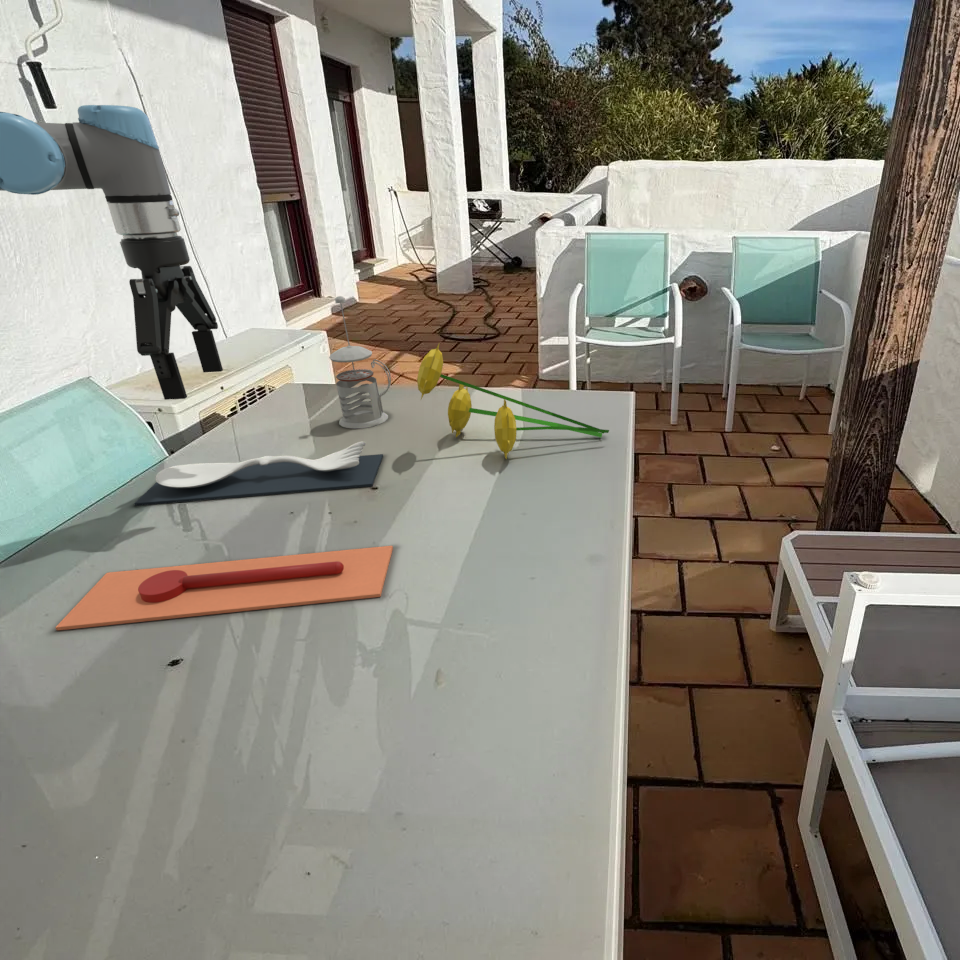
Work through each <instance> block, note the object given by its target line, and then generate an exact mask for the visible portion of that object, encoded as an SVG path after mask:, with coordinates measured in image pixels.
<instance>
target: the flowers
mask: <svg viewBox="0 0 960 960" xmlns="http://www.w3.org/2000/svg"><path fill="white" fill-rule="evenodd" d="M443 357H444V356H443V352H442V351H440V343H438V344H437V346H436V348H431V349H430V351H428V352H427V353H426V354H425V355H424V357H423V359H422V361H421V363H420V365H419V368H418V373H417V377H416V381H417V382H416V383H417V384H416V385H417V390H418V391H419V392H420V393H421V396H420V400H422V399H423V398H424V395H427V394H430V393H431V392H432V391H433V390H434V389H435V388H436V387H437V385H438V382H439V380H440V378H441V379H444V380H447V381H450V382H453V383H456V384H458V389H456V390H455V391H454V392H453V394H452V395H451V398H450V400H449V401H448V406H447V418H448V424H449V426H450V429H451V434H452V435H453V434H454V432H455V438H457V437H459V436H460V435H461V433H462V430H463V429H465V428H466V426H467V424H468V423H469V421H470V418H471V414H477V415H484V416H490V417H494V423H493V424H494V425H493V426H494V427H493V428H494V429H493V430H494V439H495V443H496V445H497V446H498V448H499V451H500V452H503V455H504V458H505V460H506V461H507V458H508V455H509V453H510V452H511V451H512V450H513V448H514V446H515V443H516V441H517V432H518V431H540V430H541V431H542V430H552V431H553V430H554V431H555V430H557V431H559V430H560V431H571V432H575V433H579V434H584V435H588V436H593V437H597V438H601V439H602V438H603V434H608V433H609V432H610V429H602V428H599V427H595V426H593V425H590V424H587V423H584V422H581V421H578V420H575V419H573V418H569V417H566V416H563V415H561V414H557V413H555V412H553V411H549V410H546V409H544V408H540V407H537V406H534V405H532V404H529V403H527V402H523V401H521V400H517V399H515V398H511V397H509V396H506V395H503V394H500V393H498V392H494V391H492V390H489V389H487V388H486V389H485V388H483V387H480V386H477V385H475V384H472V383H468V382H466V381H462V380H460V379H457V378H454V377H451V376H448V375H445V374H442V372H443V367H444V358H443ZM465 387H466V388H465ZM469 389H474V390H476V391H479V392H482V393H484V394H488V395H490V396H493V397H497V398H499V399H503V403H502V405H501V407H499V408H498V410H497V411H492V410H486V409H479V408H474V407H473V405H472V399H471V394H470V393H469ZM507 402H511V403H514V404H517V405H520V406H523V407H525V408H528V409H531V410H534V411H537V412H539V413H540V412H541V413H542V414H546V415H548V416H551V417H554V418H558V419H560V420H563V421H566V422H569V423H572V424H575V425H577V426H572V425H567V424H563V423H558V422H553V421H548V420H543V419H537V418H533V417H527V416H523V415H517V414H514V413H513V410H512V409H511V408H510V407H509V406H507V405H508V403H507ZM517 421H521V422H526V423H530V424H536V425H542V426H524V427H523V426H522V427H517ZM579 426H580V427H579Z"/></svg>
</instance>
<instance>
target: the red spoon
mask: <svg viewBox="0 0 960 960" xmlns="http://www.w3.org/2000/svg"><path fill="white" fill-rule="evenodd" d="M343 569H344V566H343V564H342V563H341V562H339V561H336V562H325V563H315V564H305V565H294V566H284V567H274V568H263V569H253V570H243V571H232V572H222V573H212V574H201V575H191V576H188V575H187V573H186V572H184V571H181V570H170V571H165V572H161V573H158V574H156V575H153V576H151V577H149V578H148V579H146V580H145V581H143V582H142V583H141V584H140V586H139V587H138V591H139V594H140V596H141V599H142V600H143V601H145V602H149V603H157V602H163V601H166V600H170V599H172V598H175V597H177V596H179V595H180V594H182V593H183V592H185V591H186V590H187V589H191V588H201V587H211V586H221V585H231V584H242V583H252V582H262V581H272V580H282V579H292V578H302V577H312V576H322V575H332V574H339V573H341V572H342V571H343Z"/></svg>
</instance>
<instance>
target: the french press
mask: <svg viewBox="0 0 960 960" xmlns="http://www.w3.org/2000/svg"><path fill="white" fill-rule="evenodd" d="M334 302H335V304H340V309H341V314H342V319H343V324H344V329H345V330H344V331H345V334H346V339H347V340H346V341H347V343H348V344H347V345H346V346H343V347H341V348H339V349H337V350H335V351H334V352H332V353H331V354H330V355H329V357H328V359H329V360H330V361H332V362H334V363H351V364H352V369H349V370H345V371H341V372H338V373H337V374H336V376H335V379H337V380H338V381H337V382H336V383H335V386H336V390H337V396H338V400H339V405H340V409H341V414H342V417H341V418H340V419H339V422H338V425H339V426H341V427H343V428H347V429H366V428H370V427H371V428H372V427H374V426H379V425H381V424H383V423H385V422H386V421H387V420H388V419H389V415H388V414H387V413H386V412H384V409H383V402H382V397H383V396H385V395H386V394H387V392H388V391H389V390H390V388H391V384H392V377H391V372H390V369H389V368H388V367H387V365H386V364H385V363H383V361H381V360H378V359H376V358H375V359H373V360H372V361H371V363H370V365H371V368H372V369H374V368H375V365H378V366H380V367H381V368H382V369H383V371H384V372H385V374H386V376H387V387H386V389H385V390H384V391H382V392H379V386H378V382H377V378H376V377H374V371H373V370H372V369H366V368H358V369H356V368H355V366H354V363H355V362H361V361H364V360H367V359H369V358H371V357H372V356H373V351H372V350H370V349H368V348H366V347H364V346H359V345H350V340H349V334H348V329H347V324H346V320H345V315H344V309H343V305H342V304H344V303H346V302H347V301H346V298H345V297H344V296H342V295H337V296H336V297H335V298H334ZM366 381H367V382H370V383H363V382H366ZM360 383H362V384H360ZM358 384H360V385H359V386H356V385H358ZM355 386H356V387H355ZM353 394H355V395H353ZM367 394H369V395H367ZM352 395H353V396H352ZM349 396H350V397H349ZM365 400H366V401H365Z"/></svg>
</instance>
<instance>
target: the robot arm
mask: <svg viewBox="0 0 960 960" xmlns="http://www.w3.org/2000/svg"><path fill="white" fill-rule="evenodd" d="M77 114H78V118H77V120H78V122H77V121H76V122H74V121H73V122H65V123H57V122H39V121H38V122H36V121H34V120H31V119H29V118H26V117H24V116H23V115H20V114H16V113H10V112H7V111H0V191H1V192H2V191H5V192H8V193H12V194H17V195H41V194H44V193H48V192H49V191H63V190H65V191H66V190H94V189H95V190H96V189H97V190H98V189H101V190H102V192H103V194H104V198H105V202H106V204H107V207H108V211H109V214H110V217H111V220H112V225H113V227H114V230H115V233H116V234H118V236H122V238H121V239H120V241H119V245H120V248H121V251H122V254H123V257H124V260H125V262H126V265H127V266H128V268H129V267H130V268H132V269H138V270H140V272H141V278H130V279H129V286H130V291H131V294H132V300H133V302H132V303H133V312H134V313H133V314H134V324H135V325H134V327H135V340H136V351H137V353H138V354H140V356H142V357H145V356H149V357H150V359H151V363H152V365H153V368H154V372H155V375H156V377H157V381H158V384H159V387H160V390H161V393H162V396H163V399H164V401H169V400H185V399H187V398H188V394H187V392H186V391H187V390H186V388H185V385H184V382H183V379H182V376H181V372H180V369H179V366H178V363H177V359H176V356H175V353H174V352H170V341H171V327H172V313H173V312H174V311H175V310H176V309H177V310H178V311H179V312H180V313H181V314H182V316H183V317H184V318H185V319H186V321H187V322H188V324H190V326H191V327H192V329H194V330H193V331H192V332H191V335H192V338H193V342H194V345H195V348H196V352H197V355H198V358H199V362H200V365H201V369H202V373H217V372H218V373H220V372H221V373H222V372H223V371H224V369H223V364H222V361H221V358H220V354H219V350H218V347H217V343H216V340H215V336H214V333H213V330H217V329H218V328H219V325H218V322H217V318H216V316H215V315H216V314H214V312H213V310H212V308H211V305H210V303H209V302H208V300H207V298H206V296H205V294H204V293H203V290H202V288H201V287H200V284H199V283H198V281H197V278H196V275H195V273H194V270H193V267H192V265H187V264H189V263H190V260H191V259H190V255H189V252H188V249H187V244H186V241H185V238H184V237H182V236H181V235H178V233H179V232H181V230H182V228H181V225H180V220H179V218H178V217H179V216H180V211H179V210H178V208H176V207H175V205H174V201H173V197H172V193H171V188H170V185H169V181H168V177H167V173H166V170H165V166H164V163H163V162H164V161H163V158H162V156H161V155H162V154H161V151H160V147H159V145H158V142H157V139H156V136H155V133H154V131H153V127H152V124H151V121H150V118H149V116H148V115H147V114H146V113H145V111H143V110H142V109H141V108H138V107H135V106H128V105H115V104H84V105H80V106H78V108H77Z"/></svg>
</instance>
